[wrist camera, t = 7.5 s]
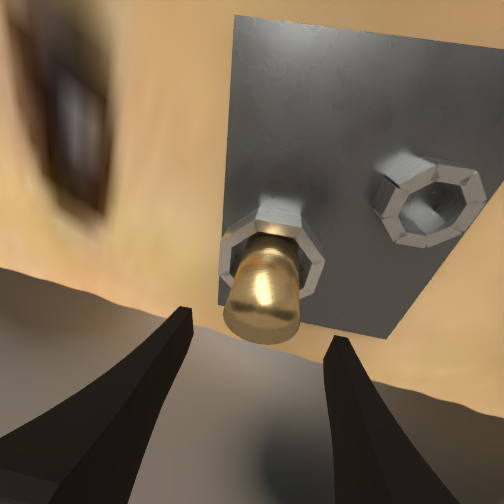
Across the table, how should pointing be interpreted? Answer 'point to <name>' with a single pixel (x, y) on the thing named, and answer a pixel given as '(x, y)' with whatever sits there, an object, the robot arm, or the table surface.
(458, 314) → the table surface
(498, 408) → the table surface
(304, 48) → the fitting board
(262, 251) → the brass cylinder
